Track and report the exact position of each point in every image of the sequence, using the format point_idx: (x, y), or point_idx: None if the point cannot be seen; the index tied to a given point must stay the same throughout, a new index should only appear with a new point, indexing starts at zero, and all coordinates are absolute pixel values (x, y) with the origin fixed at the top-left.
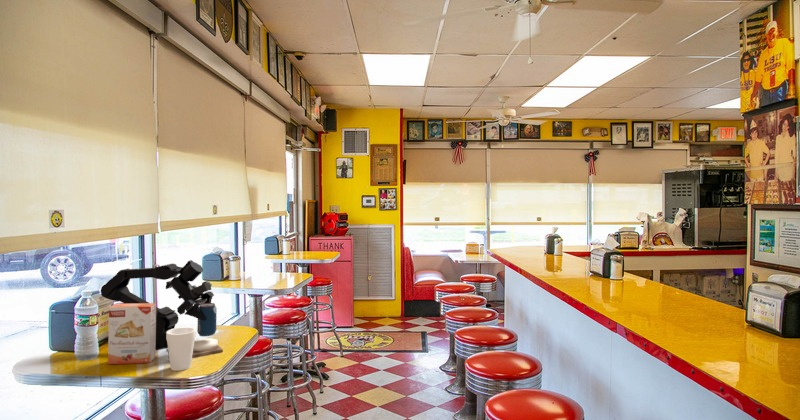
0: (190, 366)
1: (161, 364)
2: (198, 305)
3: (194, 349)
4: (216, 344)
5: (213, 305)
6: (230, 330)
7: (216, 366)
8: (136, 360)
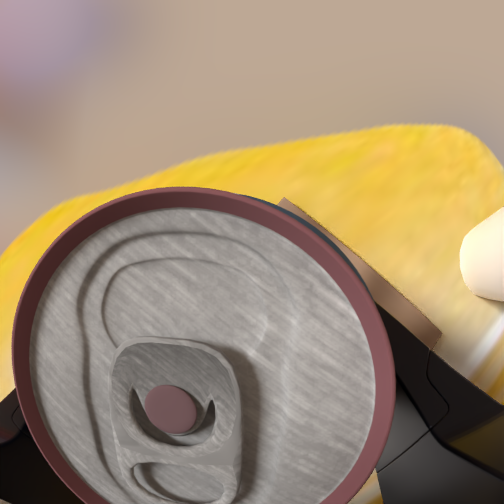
0: (473, 228)
1: (474, 360)
2: (493, 452)
3: None
4: None
5: (181, 189)
6: (10, 345)
7: (433, 139)
8: None
